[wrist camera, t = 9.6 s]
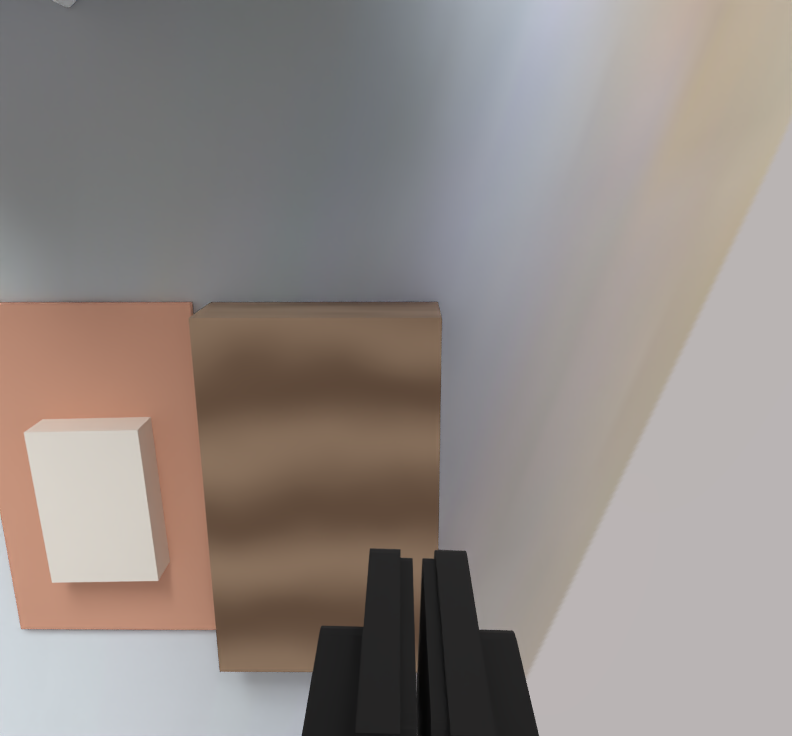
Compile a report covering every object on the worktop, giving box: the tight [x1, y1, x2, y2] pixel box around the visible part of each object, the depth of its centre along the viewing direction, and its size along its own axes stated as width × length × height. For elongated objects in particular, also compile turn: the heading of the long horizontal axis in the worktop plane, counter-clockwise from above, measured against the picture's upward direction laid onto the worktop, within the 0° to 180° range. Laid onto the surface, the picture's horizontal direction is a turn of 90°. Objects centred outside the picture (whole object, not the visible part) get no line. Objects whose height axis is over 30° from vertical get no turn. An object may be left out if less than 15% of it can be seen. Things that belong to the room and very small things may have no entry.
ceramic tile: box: [24, 417, 170, 583], centre depth 38 cm, size 9×6×2 cm, turn 1°
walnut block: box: [189, 302, 442, 673], centre depth 38 cm, size 20×12×4 cm, turn 0°
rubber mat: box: [0, 302, 216, 630], centre depth 39 cm, size 20×12×1 cm, turn 0°
